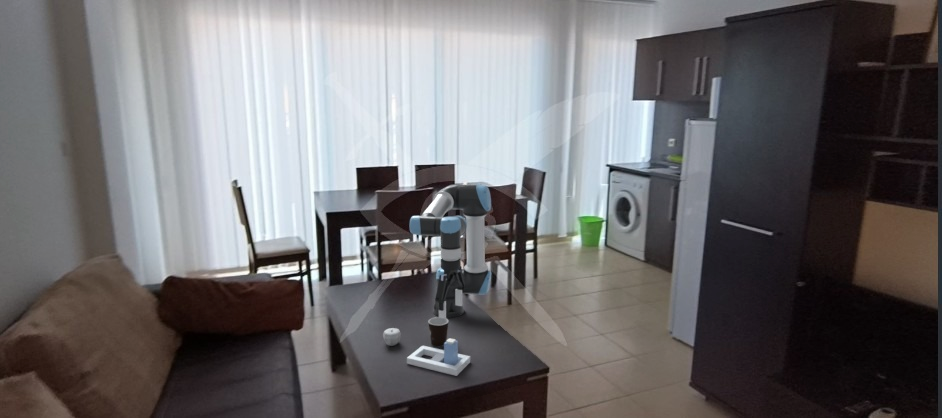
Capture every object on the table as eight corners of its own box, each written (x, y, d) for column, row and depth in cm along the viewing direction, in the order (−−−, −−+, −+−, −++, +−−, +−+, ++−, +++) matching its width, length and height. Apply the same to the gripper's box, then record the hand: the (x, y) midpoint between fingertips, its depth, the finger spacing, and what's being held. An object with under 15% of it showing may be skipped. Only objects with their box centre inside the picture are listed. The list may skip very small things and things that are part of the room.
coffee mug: (445, 348, 218) (445, 326, 216) (426, 346, 220) (425, 324, 218) (452, 336, 229) (452, 315, 228) (433, 334, 231) (433, 313, 229)
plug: (448, 362, 206) (448, 337, 204) (457, 364, 204) (457, 339, 202) (444, 367, 203) (443, 341, 201) (453, 369, 201) (453, 343, 199)
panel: (422, 351, 216) (422, 345, 215) (470, 362, 207) (470, 356, 206) (407, 363, 205) (406, 357, 205) (456, 375, 196) (456, 369, 195)
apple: (394, 338, 228) (394, 324, 226) (405, 344, 222) (405, 329, 221) (379, 344, 222) (378, 329, 221) (390, 350, 217) (389, 335, 215)
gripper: (456, 249, 208) (456, 299, 212) (425, 265, 186) (425, 321, 190) (473, 251, 205) (473, 302, 209) (443, 268, 182) (444, 325, 187)
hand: (450, 311), depth 199 cm, fingers open, 13 cm apart
